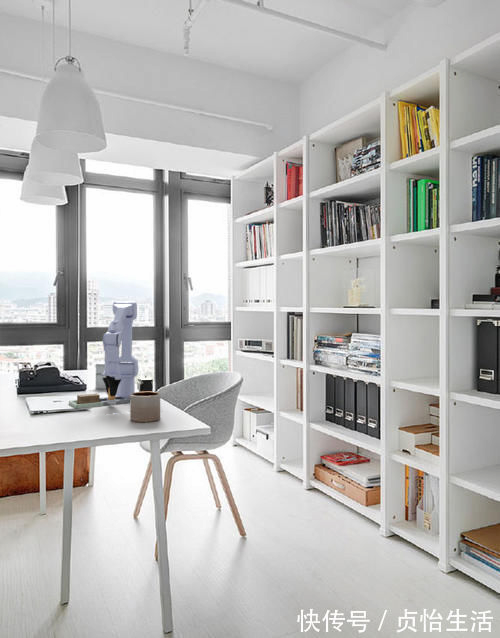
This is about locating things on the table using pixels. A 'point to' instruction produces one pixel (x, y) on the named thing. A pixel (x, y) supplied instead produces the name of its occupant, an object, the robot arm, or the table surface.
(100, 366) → the supplement box
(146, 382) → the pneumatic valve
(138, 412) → the planter
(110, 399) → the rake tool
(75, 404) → the tray
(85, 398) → the chip
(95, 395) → the chip
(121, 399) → the slot bed
